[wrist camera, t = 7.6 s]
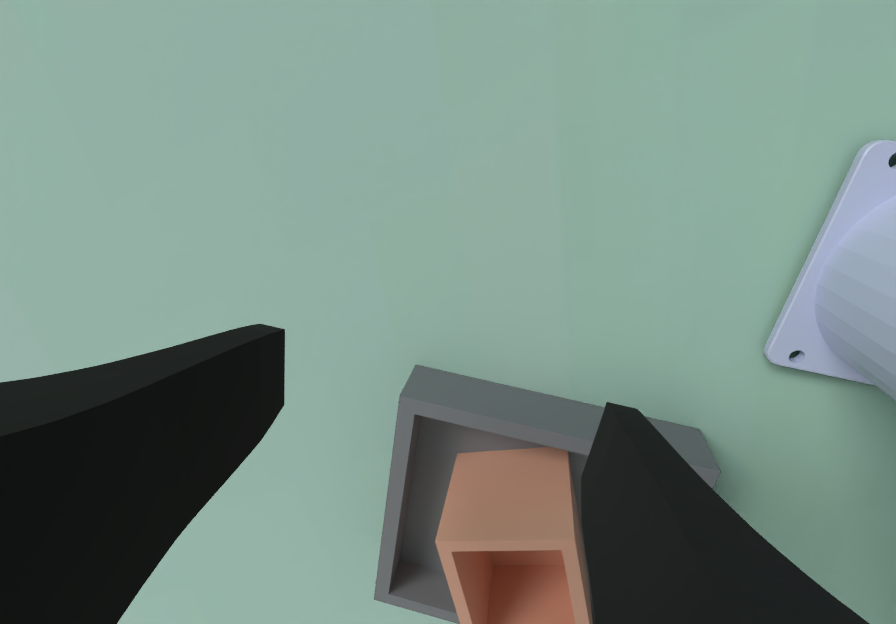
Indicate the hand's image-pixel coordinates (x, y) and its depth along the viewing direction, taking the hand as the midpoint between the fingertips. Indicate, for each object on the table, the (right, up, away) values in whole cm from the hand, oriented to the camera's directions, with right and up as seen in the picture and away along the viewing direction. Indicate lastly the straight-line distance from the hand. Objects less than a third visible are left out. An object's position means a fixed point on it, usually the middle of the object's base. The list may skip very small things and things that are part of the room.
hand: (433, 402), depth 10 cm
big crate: (+4, -7, +13) cm, 15 cm away
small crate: (+4, -7, +12) cm, 15 cm away
